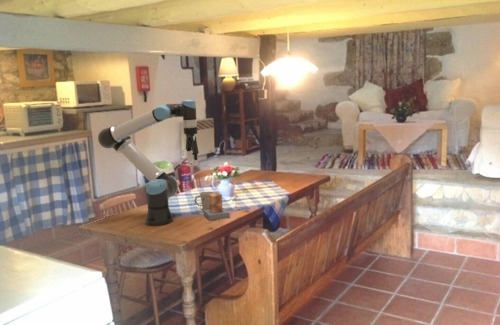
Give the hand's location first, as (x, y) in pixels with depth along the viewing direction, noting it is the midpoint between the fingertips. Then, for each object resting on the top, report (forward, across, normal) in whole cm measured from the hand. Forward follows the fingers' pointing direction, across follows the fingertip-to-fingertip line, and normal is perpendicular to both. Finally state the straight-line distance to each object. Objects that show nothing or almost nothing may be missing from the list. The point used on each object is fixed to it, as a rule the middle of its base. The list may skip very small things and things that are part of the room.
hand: (192, 163), depth 273 cm
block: (+28, -8, -10) cm, 31 cm away
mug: (+31, +11, -8) cm, 34 cm away
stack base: (+31, -8, -10) cm, 33 cm away
